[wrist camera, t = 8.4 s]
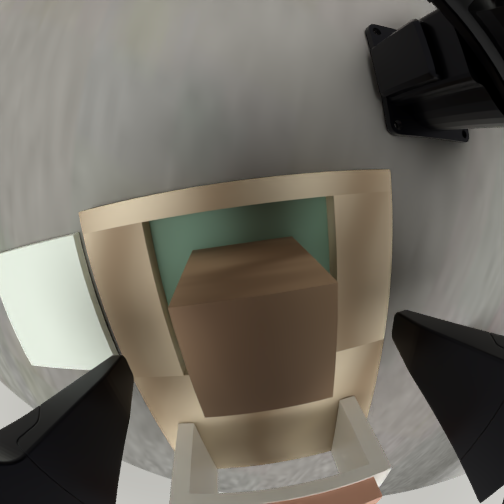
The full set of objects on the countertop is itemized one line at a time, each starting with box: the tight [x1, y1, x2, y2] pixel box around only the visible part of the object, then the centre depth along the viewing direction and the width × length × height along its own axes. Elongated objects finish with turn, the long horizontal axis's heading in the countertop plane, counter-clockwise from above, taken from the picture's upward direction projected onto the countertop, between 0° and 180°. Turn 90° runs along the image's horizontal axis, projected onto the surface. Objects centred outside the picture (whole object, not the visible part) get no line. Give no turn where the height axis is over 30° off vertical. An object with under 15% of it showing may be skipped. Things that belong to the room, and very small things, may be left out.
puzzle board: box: [79, 169, 392, 469], centre depth 14 cm, size 14×20×1 cm
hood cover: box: [169, 396, 392, 504], centre depth 11 cm, size 11×7×7 cm, turn 97°
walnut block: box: [168, 236, 338, 418], centre depth 10 cm, size 4×4×6 cm
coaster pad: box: [0, 232, 119, 370], centre depth 12 cm, size 8×8×1 cm
